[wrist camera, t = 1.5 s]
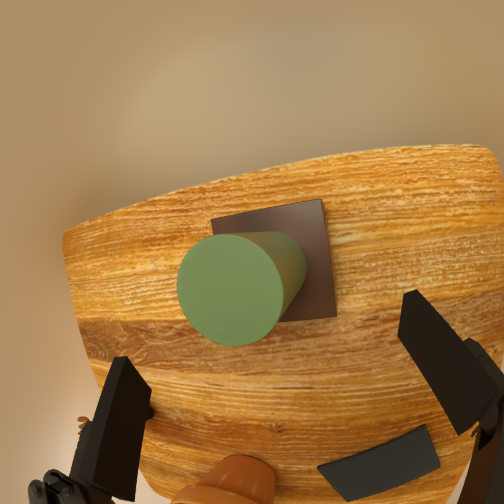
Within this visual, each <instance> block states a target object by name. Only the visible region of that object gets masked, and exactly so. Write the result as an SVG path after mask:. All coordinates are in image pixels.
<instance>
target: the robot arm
mask: <svg viewBox="0 0 504 504" xmlns="http://www.w3.org/2000/svg"><path fill="white" fill-rule="evenodd" d="M397 336H398V338H399V339H400V341H401V342H402V344H403V345H404V347H405V348H406V350H407V351H408V353H409V354H410V356H411V357H412V359H413V360H414V362H415V363H416V365H417V366H418V368H419V370H420V371H421V373H422V374H423V376H424V378H425V379H426V381H427V382H428V384H429V386H430V387H431V389H432V391H433V392H434V394H435V396H436V397H437V399H438V401H439V402H440V404H441V406H442V408H443V409H444V411H445V413H446V415H447V416H448V418H449V420H450V422H451V424H452V425H453V427H454V429H455V431H456V433H457V435H458V436H459V435H461V434H462V433H464V432H465V431H467V430H468V429H470V428H471V427H472V426H473V425H474V424H475V423H476V422H477V420H478V422H479V425H478V426H477V427H476V428H475V429H474V431H473V432H472V434H471V437H473V436H474V435H475V434H476V433H477V435H476V440H475V445H474V450H473V454H472V458H471V462H470V466H469V469H468V473H467V476H466V479H465V483H464V486H463V489H462V491H461V494H460V497H459V500H458V502H457V504H504V374H503V373H502V372H501V370H500V369H499V368H498V366H497V365H496V364H495V362H494V361H493V360H492V359H490V358H491V357H490V356H489V355H488V354H487V353H486V352H485V350H484V349H483V348H482V346H481V345H480V344H479V343H478V342H476V341H474V340H473V339H471V338H468V339H466V340H464V341H462V340H461V338H460V337H459V336H458V335H457V334H456V332H455V331H454V330H453V329H452V328H451V327H450V325H449V324H448V323H447V322H446V321H445V320H444V319H443V317H442V316H441V315H440V314H439V313H438V312H437V311H436V310H435V309H434V307H433V306H432V305H431V304H430V303H429V302H428V301H427V300H426V299H425V298H424V297H423V296H422V294H421V293H420V292H419V291H418V290H417V289H416V290H413V291H410V292H407V293H405V294H404V295H403V303H402V310H401V317H400V323H399V329H398V335H397ZM151 392H152V390H151V388H150V387H149V386H148V385H147V383H146V382H145V381H144V379H143V378H142V377H141V375H140V374H139V373H138V371H137V370H136V368H135V367H134V366H133V364H132V363H131V361H130V360H129V359H128V357H127V356H122V357H114V359H113V362H112V364H111V367H110V370H109V373H108V375H107V378H106V381H105V384H104V387H103V390H102V393H101V396H100V399H99V402H98V405H97V408H96V411H95V415H94V418H93V421H87V423H86V424H85V425H84V427H83V428H82V430H81V434H80V437H79V441H78V444H77V449H76V451H75V455H74V459H73V463H72V467H71V471H70V474H69V477H68V476H66V475H65V474H63V473H61V472H60V471H58V470H55V469H52V470H49V471H48V472H47V473H46V474H45V475H44V478H43V482H41V481H39V480H33V481H32V482H31V483H30V484H29V487H28V497H29V503H30V504H115V503H114V501H113V500H111V499H112V496H113V497H116V498H118V499H120V500H125V501H131V502H135V493H136V484H137V476H138V468H139V461H140V454H141V447H142V441H143V435H144V429H145V423H146V418H147V412H148V407H149V402H150V397H151Z"/></svg>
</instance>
